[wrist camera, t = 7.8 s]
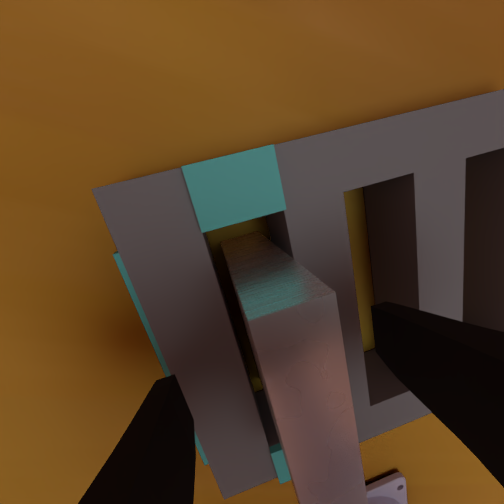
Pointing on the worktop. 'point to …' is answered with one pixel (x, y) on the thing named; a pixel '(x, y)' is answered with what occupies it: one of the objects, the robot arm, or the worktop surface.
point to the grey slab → (300, 368)
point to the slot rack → (316, 259)
